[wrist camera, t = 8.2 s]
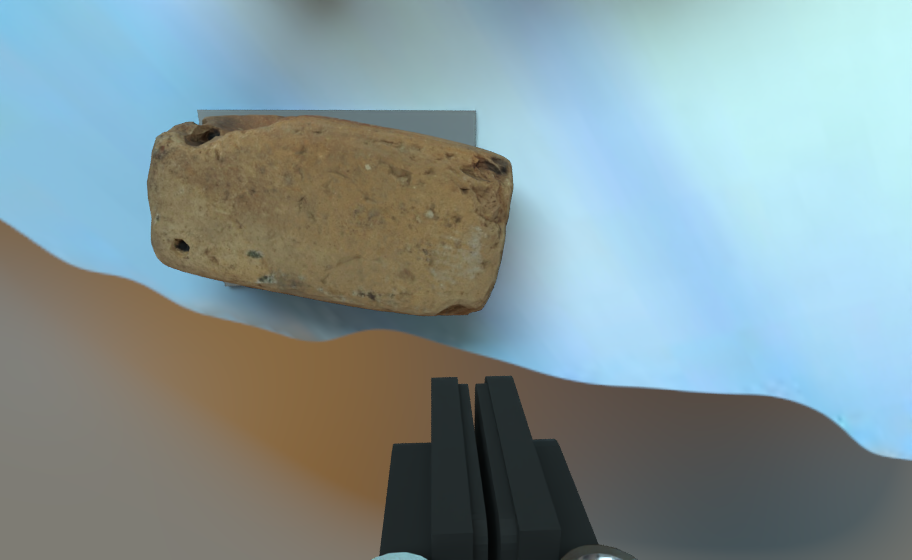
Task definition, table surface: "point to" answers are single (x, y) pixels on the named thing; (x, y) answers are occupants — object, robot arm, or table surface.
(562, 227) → the table surface
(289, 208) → the block
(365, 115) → the mat
